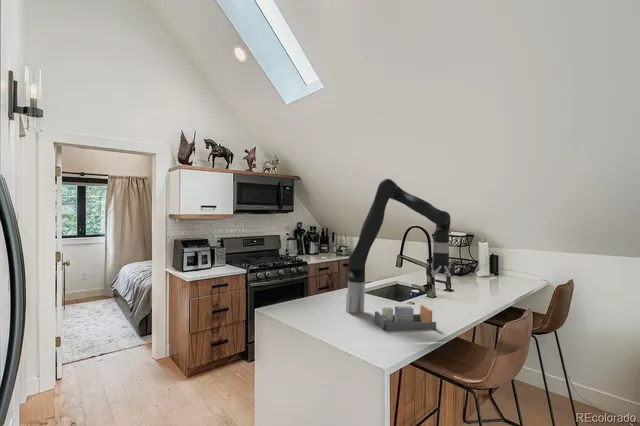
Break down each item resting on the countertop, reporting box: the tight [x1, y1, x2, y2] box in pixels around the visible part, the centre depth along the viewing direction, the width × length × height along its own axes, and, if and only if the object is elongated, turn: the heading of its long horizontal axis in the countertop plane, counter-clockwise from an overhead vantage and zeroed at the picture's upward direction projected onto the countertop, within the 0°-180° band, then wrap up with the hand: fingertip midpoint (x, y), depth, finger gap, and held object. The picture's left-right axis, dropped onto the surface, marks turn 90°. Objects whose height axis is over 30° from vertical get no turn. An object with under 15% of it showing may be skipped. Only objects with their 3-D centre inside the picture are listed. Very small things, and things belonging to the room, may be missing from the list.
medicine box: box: [394, 305, 415, 323], centre depth 158 cm, size 8×4×9 cm, turn 97°
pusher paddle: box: [419, 304, 433, 322], centre depth 160 cm, size 1×10×8 cm, turn 10°
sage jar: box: [381, 307, 394, 323], centre depth 157 cm, size 5×5×8 cm
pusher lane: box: [374, 310, 437, 332], centre depth 158 cm, size 26×12×6 cm, turn 100°
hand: (440, 284), depth 161 cm, fingers open, 7 cm apart
